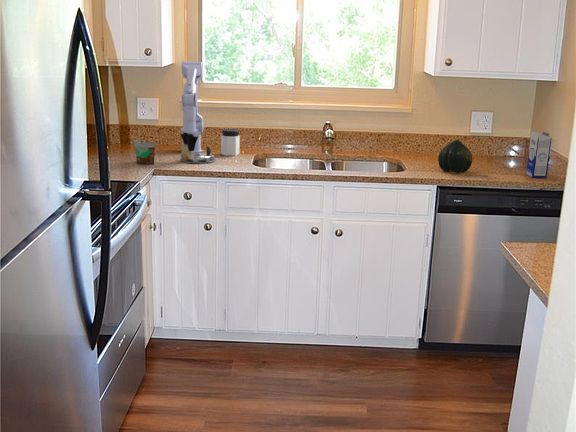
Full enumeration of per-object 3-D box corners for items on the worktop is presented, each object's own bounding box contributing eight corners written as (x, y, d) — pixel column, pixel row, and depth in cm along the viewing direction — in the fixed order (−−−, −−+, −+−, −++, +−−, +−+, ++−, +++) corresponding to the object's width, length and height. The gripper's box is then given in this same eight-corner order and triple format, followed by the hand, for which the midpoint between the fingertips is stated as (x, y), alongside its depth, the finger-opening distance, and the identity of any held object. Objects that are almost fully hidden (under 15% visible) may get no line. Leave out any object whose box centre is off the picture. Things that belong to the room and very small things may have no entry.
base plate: (174, 159, 305) (173, 158, 305) (202, 156, 315) (202, 155, 315) (192, 165, 294) (192, 164, 294) (222, 161, 304) (222, 160, 304)
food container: (128, 162, 296) (127, 140, 293) (139, 160, 300) (139, 138, 297) (144, 166, 288) (143, 143, 285) (156, 164, 292) (155, 142, 289)
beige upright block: (181, 155, 301) (181, 144, 299) (188, 154, 303) (188, 143, 301) (184, 156, 298) (184, 145, 296) (191, 156, 300) (191, 145, 298)
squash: (451, 164, 285) (469, 137, 288) (427, 159, 298) (444, 134, 300) (466, 183, 293) (484, 157, 296) (442, 178, 306) (459, 153, 308)
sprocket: (184, 155, 312) (184, 143, 310) (216, 156, 312) (216, 144, 310) (178, 161, 297) (178, 148, 296) (212, 162, 297) (212, 150, 295)
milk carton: (525, 174, 297) (531, 130, 292) (540, 174, 297) (546, 130, 292) (532, 178, 290) (538, 132, 285) (546, 178, 290) (553, 133, 285)
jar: (242, 155, 321) (242, 130, 318) (228, 156, 316) (228, 131, 313) (232, 152, 328) (232, 128, 325) (218, 153, 323) (218, 129, 320)
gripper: (204, 122, 293) (204, 152, 297) (190, 118, 305) (190, 147, 308) (190, 122, 289) (190, 153, 293) (176, 118, 301) (176, 148, 304)
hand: (189, 150), depth 300 cm, fingers closed on beige upright block, 3 cm apart
